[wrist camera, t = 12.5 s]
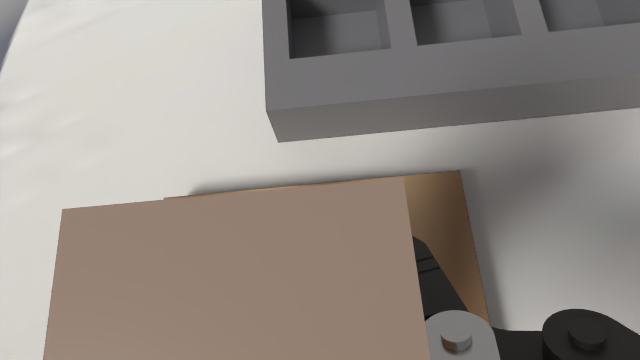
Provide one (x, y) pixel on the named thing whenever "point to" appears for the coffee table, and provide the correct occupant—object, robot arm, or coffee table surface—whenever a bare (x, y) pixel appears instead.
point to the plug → (240, 278)
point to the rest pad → (436, 229)
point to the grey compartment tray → (443, 62)
